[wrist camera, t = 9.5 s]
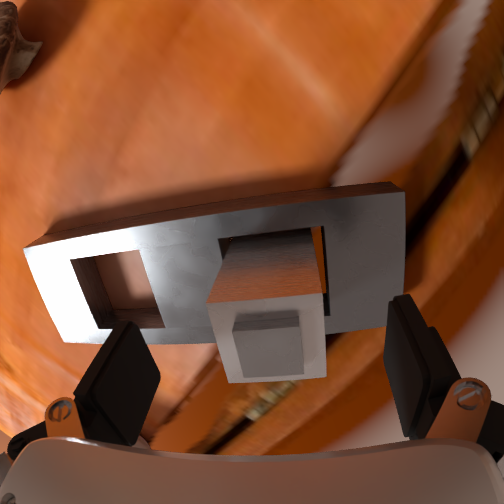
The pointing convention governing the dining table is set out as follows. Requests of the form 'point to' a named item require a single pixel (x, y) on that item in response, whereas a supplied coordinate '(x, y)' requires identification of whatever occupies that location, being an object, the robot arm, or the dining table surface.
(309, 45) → the dining table surface
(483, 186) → the dining table surface
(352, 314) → the rail
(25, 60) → the mushroom
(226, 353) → the grey rectangular block
